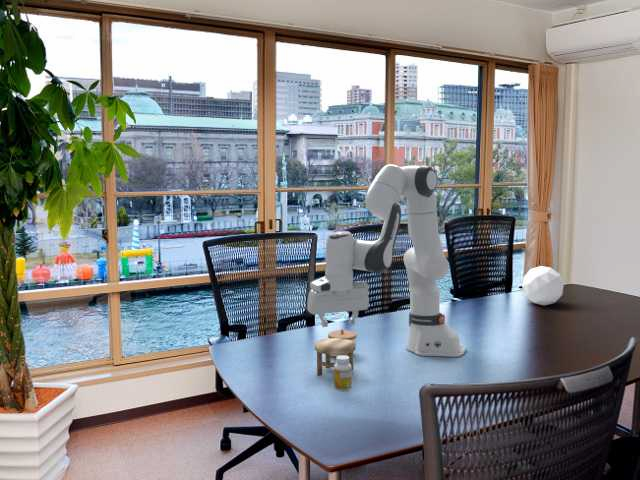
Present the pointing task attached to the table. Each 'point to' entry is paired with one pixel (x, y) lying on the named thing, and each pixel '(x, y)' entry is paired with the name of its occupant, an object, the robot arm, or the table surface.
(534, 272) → the geometric polyhedron
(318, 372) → the stool
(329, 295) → the robot arm
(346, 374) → the supplement bottle
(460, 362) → the table surface
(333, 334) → the lidded jar
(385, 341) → the table surface
